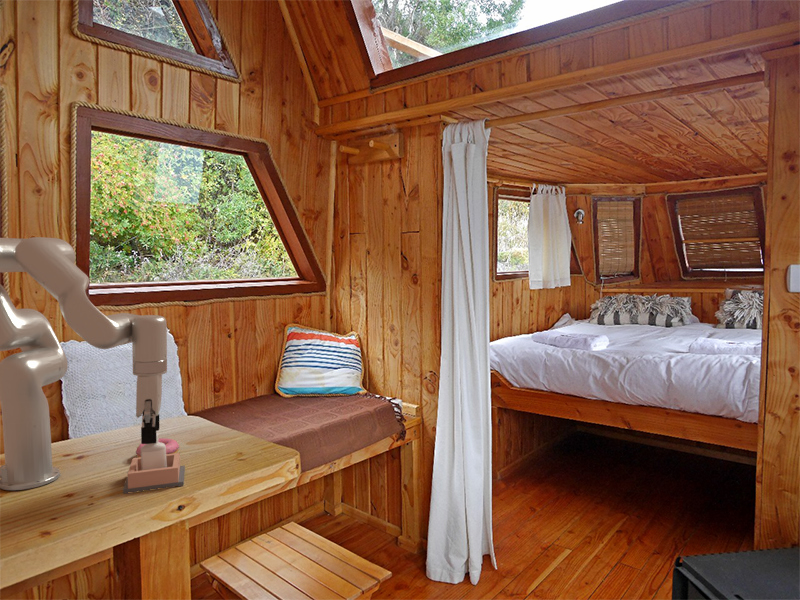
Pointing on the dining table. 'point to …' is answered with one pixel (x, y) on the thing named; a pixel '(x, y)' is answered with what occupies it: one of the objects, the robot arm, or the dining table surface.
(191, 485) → the dining table surface
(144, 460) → the squeeze bottle
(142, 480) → the socket stand
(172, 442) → the doughnut
